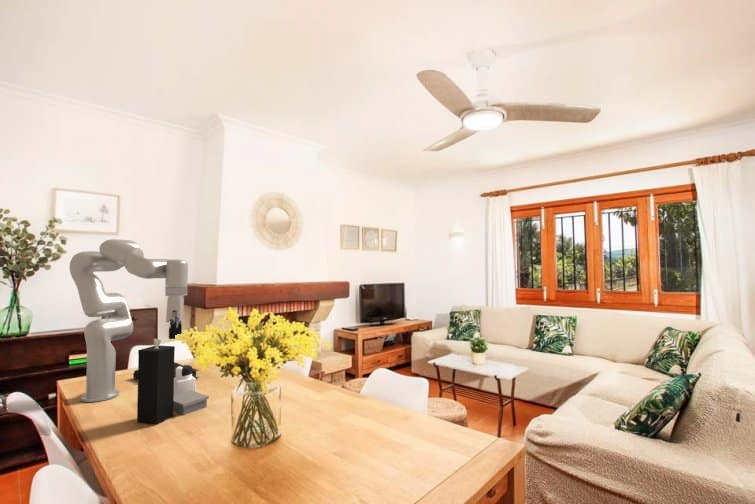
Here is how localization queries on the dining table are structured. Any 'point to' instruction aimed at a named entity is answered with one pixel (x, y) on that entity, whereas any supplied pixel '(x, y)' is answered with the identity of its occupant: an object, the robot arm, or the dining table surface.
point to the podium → (189, 402)
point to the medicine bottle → (184, 380)
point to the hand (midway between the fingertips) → (175, 336)
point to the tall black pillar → (155, 383)
